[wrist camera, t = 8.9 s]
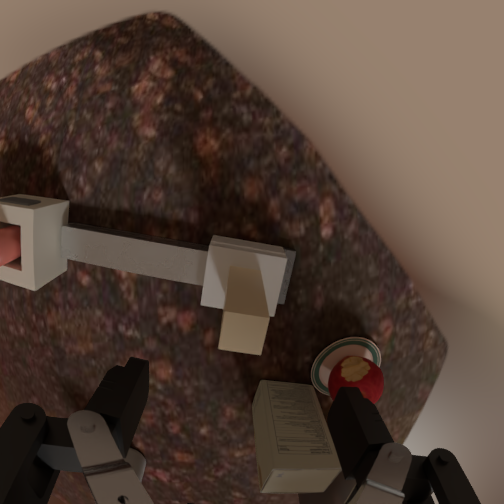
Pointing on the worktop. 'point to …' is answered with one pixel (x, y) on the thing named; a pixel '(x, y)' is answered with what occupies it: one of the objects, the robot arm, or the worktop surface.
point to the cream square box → (35, 239)
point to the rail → (145, 254)
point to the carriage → (243, 290)
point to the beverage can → (136, 462)
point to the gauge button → (10, 244)
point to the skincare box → (292, 439)
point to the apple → (349, 368)
